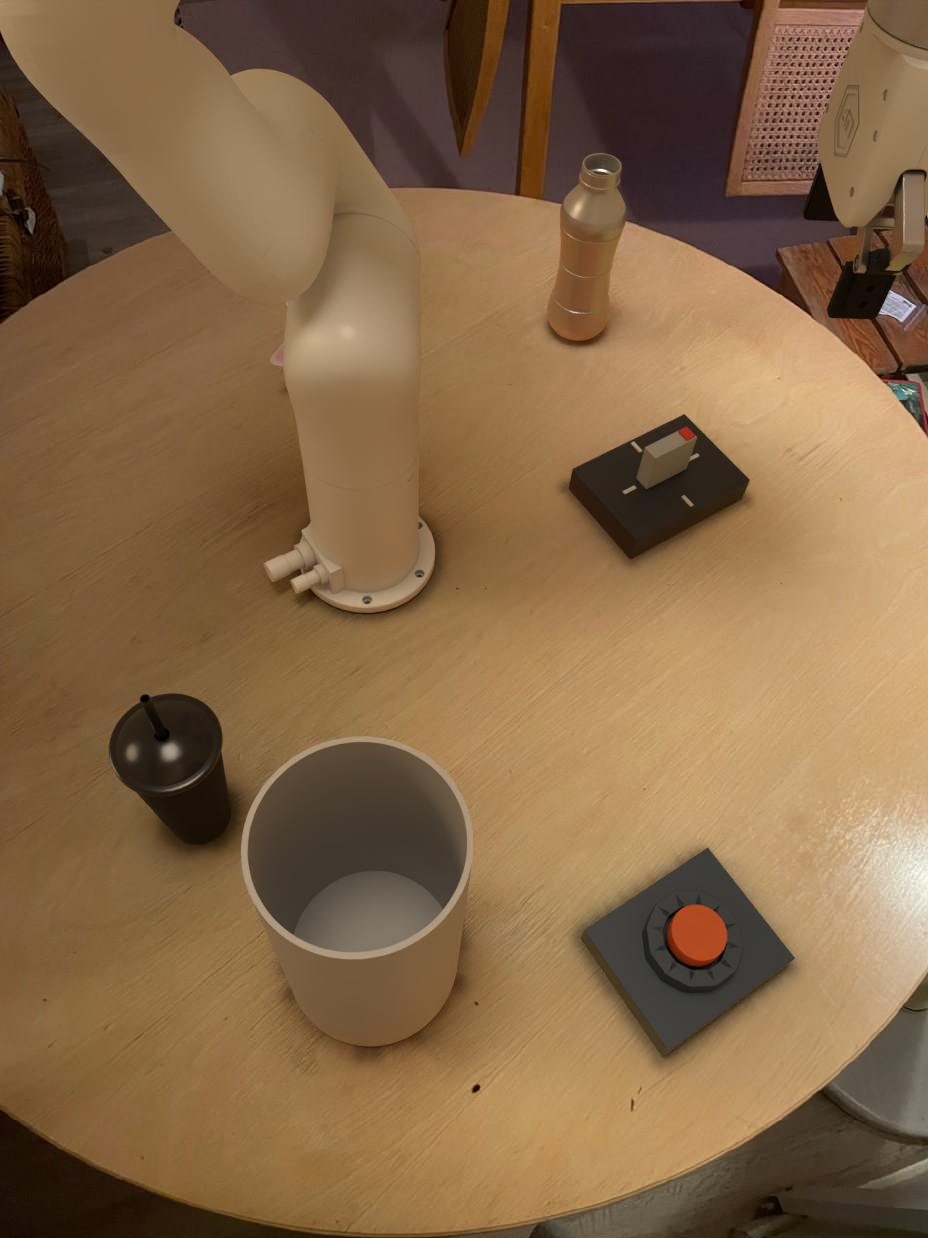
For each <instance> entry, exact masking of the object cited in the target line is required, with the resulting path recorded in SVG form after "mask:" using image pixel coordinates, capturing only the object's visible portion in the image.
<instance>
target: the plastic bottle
mask: <svg viewBox="0 0 928 1238" xmlns="http://www.w3.org/2000/svg"><path fill="white" fill-rule="evenodd" d="M622 165H623V164H622V162H621V161H620V159H618V158H617V157H616V156H614V155H613V154H609V153H603V152H596V153H592V154H589V155H587V156H585V158H584V159H583V161H582V164H581V169H580V172H579V174H578V175H579V176H578V184H576V186H575V187H573V188H572V189H571V190H570V191H569V192H568V193H567V194H566V195H565V197H564V199H563V201H562V203H561V206H560V209H559V230H560V231H559V235H560V236H559V237H560V249H559V261H558V262H559V264H558V268H557V272H556V276H555V281H554V285H553V288H552V290H551V293H550V295H549V299H548V303H547V319H548V323H549V325H550V327H551V328H552V329H553V331H554V332H555V333H556V335H558V336H560V337H561V338H563V339H565V340H569V341H574V342H584V341H587V340H591V339H593V338H595V337H596V336H597V335H599V334H600V333H602V331H603V330H604V329H605V326H606V324H607V323H608V322H607V321H608V319H609V317H610V308H611V307H610V305H611V303H610V301H611V300H610V283H611V271H612V268H613V263H614V261H615V255H616V250H617V248H618V245H619V243H620V240H621V237H622V234H623V231H624V228H625V227H626V222H627V217H628V214H627V213H628V212H627V206H626V203H625V201H624V198H623V197H622V193H621V192H620V191H619V189H618V188H619V187H620V184H621V174H622V171H623V170H622V169H623V168H622V167H623V166H622Z"/></svg>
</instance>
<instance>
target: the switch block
mask: <svg viewBox="0 0 928 1238" xmlns="http://www.w3.org/2000/svg"><path fill="white" fill-rule="evenodd" d="M689 905H702V906H706V907H708V908H710V909H712V910H713V911H715V912H716V913H717V914H718V915H719V916H720V917H721V919H722V920H723V922H724V924H725V927H726V930H727V943H726V946H725V948H724V950H723V951H722V953H721V954H720V955H719V956H718V957H717V958H716V959H715V960H714V961H713V962H712V963H710V964H708V965H706V966H701V967H694V966H689V965H687V964H684V963H683V962H681V961H680V960H678V959H677V958H676V957H675V956H674V954H673V953H672V952H671V950H670V948H669V946H668V942H667V929H668V926H669V923H670V922H671V920H672V919H673V918H674V916H675V915H676V913H677V912H678V911H679V910H681V909H682V908H684V907H686V906H689ZM580 940H581V941H582V943H583V944H584V946H585V947H586V948H587V950H588V951H589V952H590V955H591V956H592V957H593V959H594V960H595V961H596V963H597V964H598V966H599V967H600V969H601V970H602V972H603V974H604V975H605V976H606V977H607V979H608V980H609V982H610V983H611V985H612V986H613V987H614V989H615V991H616V992H617V993H618V995H619V996H620V998H621V999H622V1000H623V1003H625V1004H626V1006H627V1008H628V1009H629V1011H630V1012H631V1014H632V1015H633V1016H634V1018H635V1019H636V1021H637V1022H638V1024H639V1025H640V1026H641V1028H642V1030H643V1031H644V1032H645V1034H646V1036H648V1038H649V1039H650V1041H651V1042H652V1044H653V1045H654V1047H655V1048H656V1049H657V1051H658V1052H659V1054H660V1056H661V1057H665V1056H667V1055H668V1054H669V1053H670V1052H672V1051H674V1049H676V1048H677V1047H679V1046H680V1045H681V1044H683V1043H684V1042H685V1041H687V1040H688V1039H689V1038H691V1037H692V1036H693V1035H694V1034H696V1033H698V1032H699V1031H700V1030H702V1029H703V1028H704V1027H705V1026H706V1025H708V1024H710V1023H711V1022H712V1021H714V1020H715V1019H716V1018H718V1017H719V1016H721V1015H722V1014H723V1013H724V1012H726V1011H727V1010H728V1009H730V1008H732V1006H734V1005H735V1004H737V1003H738V1002H739V1001H741V1000H742V999H743V998H745V997H746V996H748V995H749V994H750V993H751V992H753V991H754V990H755V989H757V988H758V987H759V986H761V985H762V984H764V983H765V982H766V981H768V980H769V979H770V978H772V977H773V976H774V975H776V974H778V972H780V971H781V970H783V969H784V968H785V967H786V966H788V965H789V964H790V963H791V962H793V961H794V960H795V959H796V957H795V956H794V955H793V953H792V952H791V951H790V950H789V948H788V947H787V946H786V945H785V943H784V942H783V941H782V939H780V937H779V936H778V934H777V933H776V932H775V930H774V929H773V928H772V926H771V925H770V924H769V923H768V922H767V920H766V919H765V917H763V915H762V914H761V913H760V912H759V911H758V909H757V908H756V907H755V905H754V903H752V901H751V900H750V899H749V897H748V896H747V895H746V894H745V892H744V891H743V890H742V889H741V887H740V886H739V885H738V884H737V882H736V881H735V880H734V879H733V877H732V876H731V875H730V873H729V872H728V871H727V870H726V868H725V867H724V866H723V865H722V863H721V862H720V861H719V859H718V858H717V857H716V856H715V854H714V853H713V852H712V851H711V850H710V848H709V847H706V848H704V849H703V850H702V851H699V853H697V854H695V855H694V856H693V857H691V858H689V859H688V860H687V861H685V862H684V863H682V864H681V865H679V866H678V867H676V868H675V869H673V870H672V871H670V872H669V873H667V874H666V875H665V876H663V877H661V878H660V879H658V880H657V881H655V882H654V883H652V884H650V885H649V886H648V887H646V888H645V889H643V890H642V891H640V892H639V893H638V894H636V895H634V896H633V897H631V898H630V899H629V900H627V901H626V902H624V903H623V904H621V905H619V906H618V907H616V908H615V909H614V910H612V911H611V912H609V913H608V914H606V915H605V916H603V917H602V918H600V919H599V920H597V921H596V922H594V923H593V924H591V925H590V926H588V927H586V928H585V929H584V930H583V932H582V934H581V937H580Z"/></svg>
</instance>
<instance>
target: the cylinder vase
mask: <svg viewBox="0 0 928 1238" xmlns="http://www.w3.org/2000/svg"><path fill="white" fill-rule="evenodd" d="M474 842H475V841H474V829H473V822H472V818H471V815H470V812H469V808H468V806H467V802H466V801H465V799H464V796H463V794H462V792H461V791H460V789H459V787H458V786H457V785H456V783H455V781H454V780H453V779H452V778H451V776H450V775H449V774H448V772H446V771H445V770H444V769H443V768H442V767H441V765H439V764H438V763H437V762H435V760H433V759H432V758H430V757H429V756H428V755H426V754H425V753H423V752H421V751H420V750H418V749H416V748H414V747H412V746H410V745H408V744H404V743H402V742H400V741H397V740H392V739H389V738H383V737H378V736H365V735H364V736H363V735H361V736H359V735H357V736H347V737H341V738H336V739H330V740H327V741H324V742H321V743H319V744H318V743H317V744H316V745H313V746H311V747H309V748H307V749H305V750H303V751H301V752H299V753H297V754H296V755H294V756H293V757H291V758H290V759H289V760H287V761H286V762H285V763H284V764H283V765H281V766H280V767H279V768H278V769H276V771H274V773H273V774H272V775H271V776H270V777H269V778H268V779H267V780H266V782H265V783H264V784H263V786H262V787H261V788H260V790H259V792H258V793H257V795H256V796H255V799H253V801H252V804H251V806H250V808H249V810H248V813H247V816H246V818H245V821H244V826H243V830H242V836H241V842H240V843H241V845H240V861H241V869H242V874H243V879H244V883H245V887H246V889H247V891H248V894H249V896H250V898H251V900H252V903H253V905H254V907H255V909H256V912H257V914H258V916H259V919H260V921H261V923H262V926H263V928H264V930H265V933H266V935H267V937H268V939H269V942H270V944H271V946H272V948H273V951H274V953H275V955H276V958H277V960H278V962H279V965H280V967H281V969H282V971H283V974H284V976H285V978H286V980H287V983H288V985H289V988H290V990H291V992H292V995H293V996H294V997H293V998H294V999H295V1001H296V1003H297V1005H298V1007H299V1008H300V1010H301V1011H302V1013H303V1014H304V1015H305V1017H306V1018H307V1019H308V1020H309V1021H310V1022H311V1024H312V1025H314V1026H315V1028H317V1029H318V1030H320V1031H321V1032H323V1033H324V1034H326V1035H328V1036H329V1037H331V1038H332V1039H335V1040H337V1041H339V1042H342V1043H345V1044H348V1045H353V1046H358V1047H380V1046H381V1047H382V1046H387V1045H391V1044H394V1043H398V1042H400V1041H403V1040H406V1039H408V1038H409V1037H411V1036H414V1035H415V1034H417V1033H418V1032H419V1031H421V1030H422V1029H423V1028H425V1027H426V1026H428V1024H429V1023H430V1022H431V1021H433V1020H434V1018H435V1017H436V1016H437V1015H438V1014H439V1012H440V1011H441V1010H442V1008H443V1007H444V1005H445V1004H446V1002H447V1001H448V999H449V997H450V994H451V992H452V989H453V987H454V983H455V980H456V977H457V972H458V965H459V958H460V952H461V951H460V950H461V943H462V937H463V928H464V922H465V915H466V908H467V902H468V894H469V888H470V887H469V886H470V879H471V873H472V865H473V858H474V845H475V843H474Z"/></svg>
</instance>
